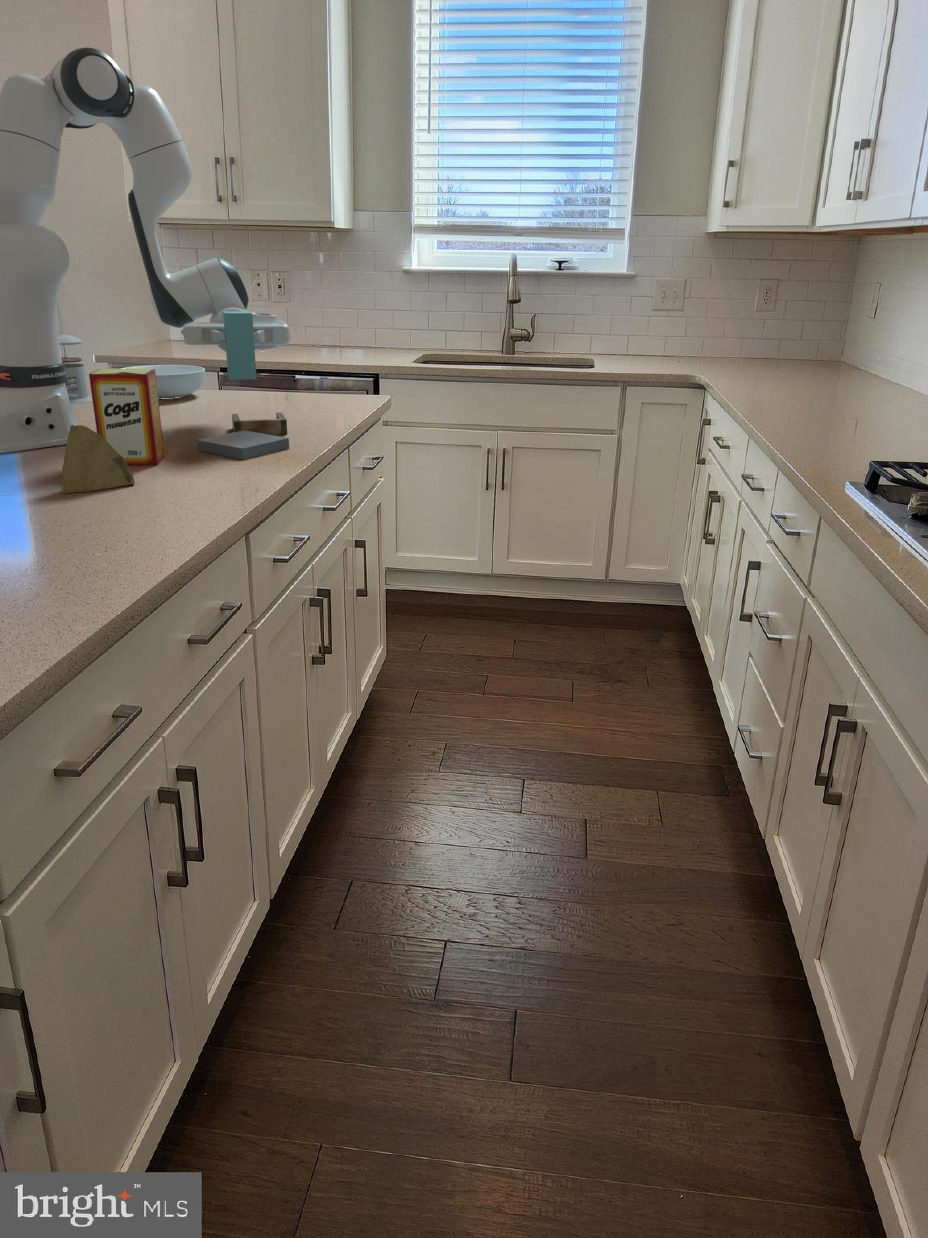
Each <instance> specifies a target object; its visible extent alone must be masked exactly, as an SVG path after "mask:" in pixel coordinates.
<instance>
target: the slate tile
mask: <svg viewBox="0 0 928 1238" xmlns="http://www.w3.org/2000/svg"><path fill="white" fill-rule="evenodd" d="M196 443H197V451H198V452H203V453H209V454H214V455H220V456H222V457H223V456H224V457H229V458H233V457H235V459H239V460H247V459H250V458H249V457H251V458H255V457H259V456H263V455H264V456H265V455H268V454H271V453H276V452H279V451H285V450H288V449H290V439H289V437H284V436H280V435H268V434H262V433H256V432H251V431H245V430H243V431H239V432H234V431H233V432H228V433H224V434H219V435H214V436H210V437H205V438H200V439H197V440H196ZM246 458H247V459H246Z"/></svg>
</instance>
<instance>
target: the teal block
mask: <svg viewBox="0 0 928 1238" xmlns="http://www.w3.org/2000/svg"><path fill="white" fill-rule="evenodd" d="M251 312H252V311H250V310H247V311H223V317H224V331H225V333H226V337H225V338H226V342H225V344H226V352H225V355H226V357H225V358H226V368H227V377H228V379H229V380H232V381H233V380H237V381H238V380H240V381H241V380H257V366H256V363H257V362H256V350H255V347H254V331H253V316H252V313H251Z"/></svg>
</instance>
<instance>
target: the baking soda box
mask: <svg viewBox="0 0 928 1238" xmlns="http://www.w3.org/2000/svg"><path fill="white" fill-rule="evenodd" d="M125 368H126V367H125ZM88 377H89V383H90V384H89V385H90V392H91V398H92V400H93V401H92V405H93V406H92V407H93V413H94V421H95V428H96V433H98V434H99V435H101V436H103V437H104V439H105V440H106V441H107V442H108V443H109V444H110V445H111V446H112V447H113V448H114V450H115V451H116V452H117V453H118V454H119V455H121V456H122V457H123V458H124V459H125V461H126V463H127V465H128V467H131V466H135V467H137V466H139V467H141V466H144V467H145V466H147V467H148V466H149V467H150V466H151V467H153V466H156V467H157V466H159V464H160V463H161V462H162V461H163V460H164V459H165V449H164V448H165V447H164V440H163V439H164V438H163V431H162V420H161V412H160V411H161V410H160V403H159V402H160V400H158V392H157V382H156V373H155V369H134V368H126V369H121V368H98V369H96V370H94V371H92V372H90V373H89V374H88Z"/></svg>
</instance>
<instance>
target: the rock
mask: <svg viewBox="0 0 928 1238" xmlns="http://www.w3.org/2000/svg"><path fill="white" fill-rule="evenodd" d="M61 473H62V474H61V478H62V480H61V481H62V482H61V494H62V495H66V494H72V493H87V492H94V491H100V490H106V489H107V490H108V489H113V488H114V489H115V488H118V487H124V486H128V485H129V486H130V485H133V484H136V481H135V478H134V475H133V472H132V471H131V469H130V466H128V465H127V463H126V461H125V459H124V458H123V457H122V456H121V455H119V454H118V453H117V452H116V451H115V450H114V448H113V447H112V446H111V445H110V444H109V443H108V442H107V441H106V440H105V439H104V437H103V436H101V435H99V434H98V433H97V431H94V430H92V429H91V428H90V427H88V426H86V425H81V424H79V425H78V424H77V426H75V425H71V427H70V432H69V435H68V440H67V443H66V444H65V451H64V459H63V464H62V468H61Z"/></svg>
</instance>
